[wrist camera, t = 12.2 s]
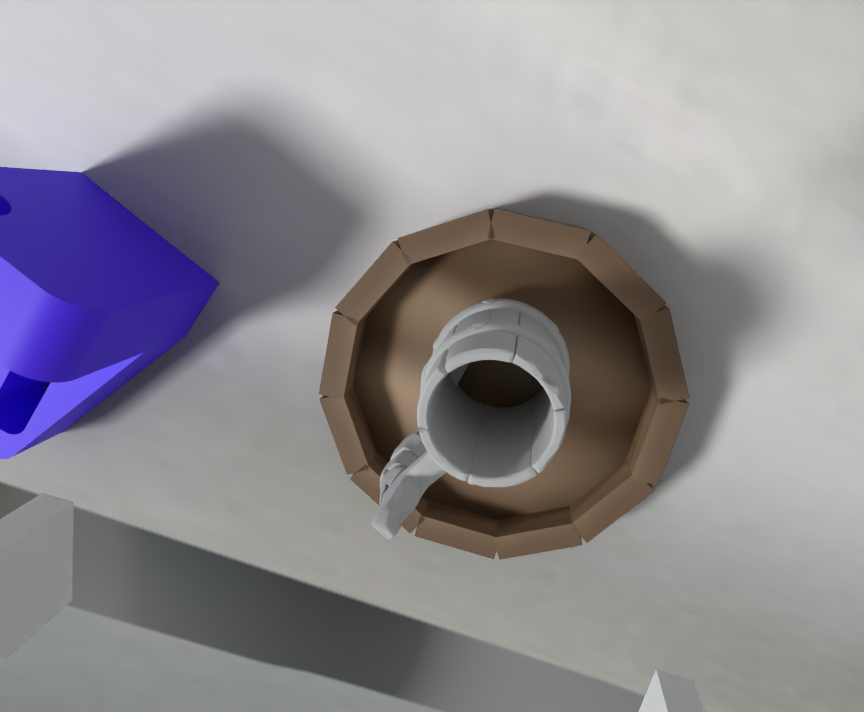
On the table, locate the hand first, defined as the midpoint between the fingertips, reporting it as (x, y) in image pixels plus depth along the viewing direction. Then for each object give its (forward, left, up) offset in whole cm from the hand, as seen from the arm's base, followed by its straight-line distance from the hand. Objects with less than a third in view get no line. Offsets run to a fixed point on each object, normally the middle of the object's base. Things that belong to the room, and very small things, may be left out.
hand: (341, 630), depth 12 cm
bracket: (+5, -25, -23) cm, 34 cm away
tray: (+1, +3, -23) cm, 23 cm away
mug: (+1, +1, -23) cm, 22 cm away
